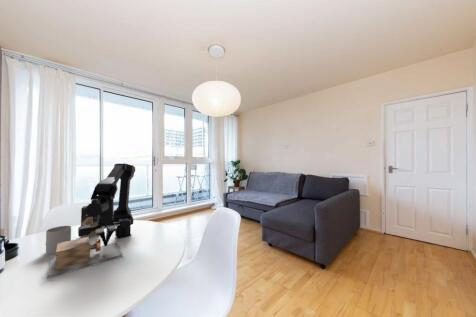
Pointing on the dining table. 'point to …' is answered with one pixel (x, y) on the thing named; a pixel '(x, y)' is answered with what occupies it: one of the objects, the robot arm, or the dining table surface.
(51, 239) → the cup
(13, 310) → the dining table surface
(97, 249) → the shaft
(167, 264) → the dining table surface
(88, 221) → the coffee box
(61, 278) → the dining table surface
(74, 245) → the wooden block on base
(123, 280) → the dining table surface
